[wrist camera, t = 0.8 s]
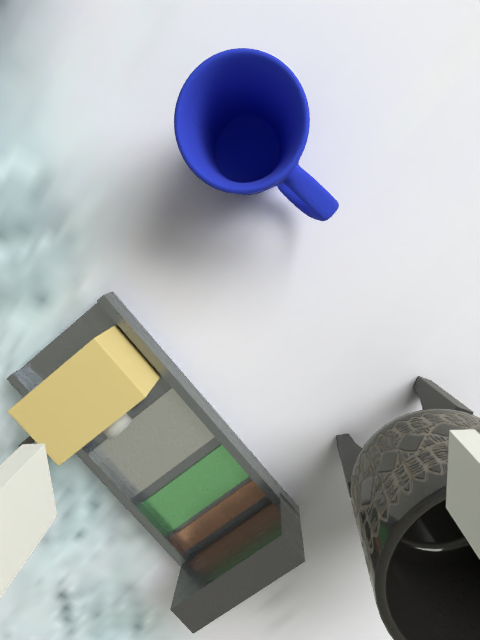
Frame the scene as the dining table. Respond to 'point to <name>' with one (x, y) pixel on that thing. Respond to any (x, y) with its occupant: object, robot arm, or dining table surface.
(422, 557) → the planter
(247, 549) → the dark grey block
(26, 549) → the robot arm
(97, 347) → the block
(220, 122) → the mug
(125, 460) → the tray
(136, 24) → the dining table surface
